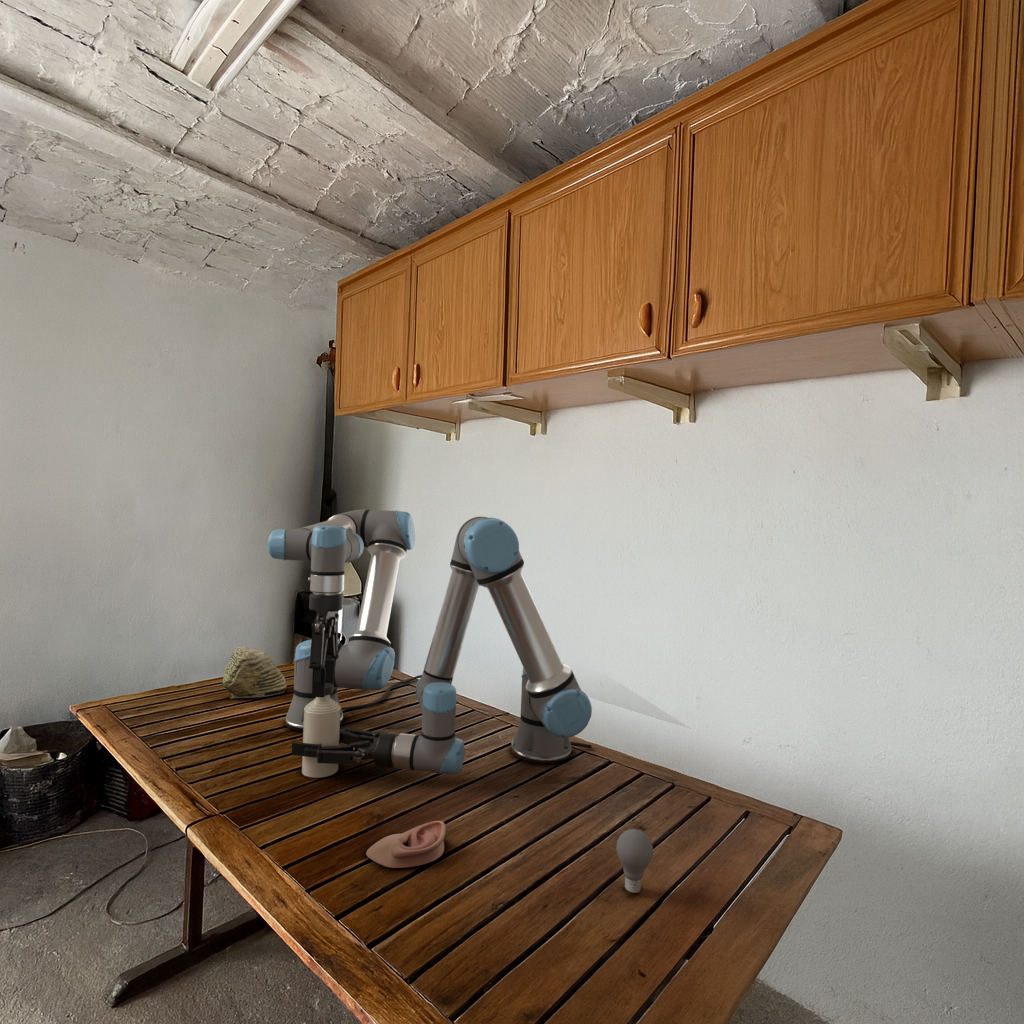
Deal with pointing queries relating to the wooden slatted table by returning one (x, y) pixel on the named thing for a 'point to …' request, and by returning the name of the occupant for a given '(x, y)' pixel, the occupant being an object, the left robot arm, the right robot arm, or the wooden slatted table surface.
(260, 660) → the fossil
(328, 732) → the bottle
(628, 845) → the light bulb
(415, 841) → the anatomical model
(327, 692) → the cap
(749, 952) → the wooden slatted table surface
